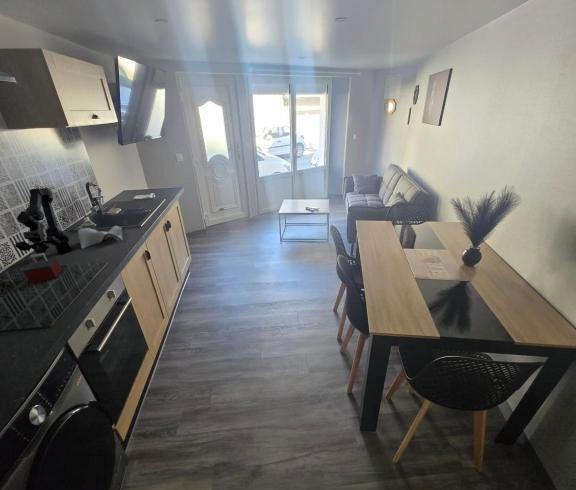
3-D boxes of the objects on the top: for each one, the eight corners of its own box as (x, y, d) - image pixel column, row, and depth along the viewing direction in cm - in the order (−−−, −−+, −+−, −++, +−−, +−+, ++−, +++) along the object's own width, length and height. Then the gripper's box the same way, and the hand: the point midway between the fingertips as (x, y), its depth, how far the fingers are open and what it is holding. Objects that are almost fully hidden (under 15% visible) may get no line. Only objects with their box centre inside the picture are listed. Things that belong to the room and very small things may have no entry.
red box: (37, 274, 164) (31, 263, 160) (62, 269, 166) (56, 259, 163) (30, 282, 155) (23, 272, 152) (56, 277, 158) (50, 267, 154)
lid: (31, 263, 160) (25, 254, 157) (57, 258, 163) (51, 249, 160) (23, 272, 152) (17, 262, 149) (50, 267, 154) (44, 257, 151)
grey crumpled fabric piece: (126, 232, 210) (121, 219, 205) (123, 242, 195) (117, 227, 190) (87, 239, 204) (81, 225, 199) (81, 249, 189) (74, 235, 184)
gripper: (5, 227, 151) (9, 255, 149) (46, 221, 156) (51, 248, 153) (21, 237, 162) (24, 263, 160) (59, 231, 166) (63, 256, 164)
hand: (40, 258), depth 159 cm, fingers closed
